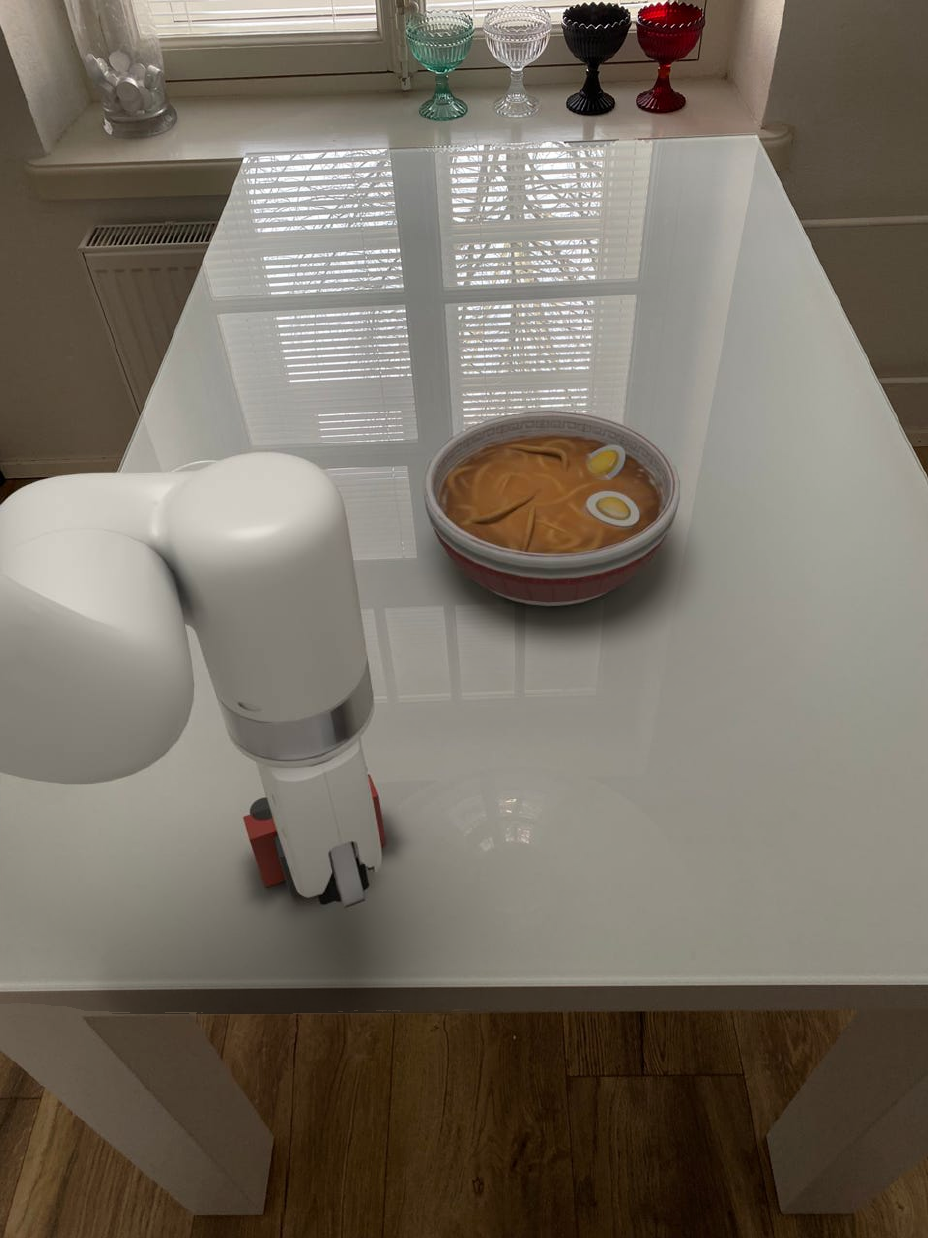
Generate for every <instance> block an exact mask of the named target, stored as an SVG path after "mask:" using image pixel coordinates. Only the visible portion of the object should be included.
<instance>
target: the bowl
mask: <svg viewBox="0 0 928 1238" xmlns="http://www.w3.org/2000/svg"><path fill="white" fill-rule="evenodd" d="M422 483H423V487H422V488H423V492H422V493H423V500H424V503H425V504H424V505H425V509H426V510H425V511H426V513H427V516H428V520H429V522H430V525H431V527H432V528H433V531H434V534H435V535H436V538H437V540H438V542H439V543H440V545H441V546H442V548H443V549H444V551H445V552H446V554H447V555H448V557H450V559H451V560H452V561H453V562H454V563H455V564H456V566H457V567H458V568H459V570H461V571H462V573H464V574H466V576H468V577H469V578H470V579H471V580H472V581H474V582H476V583H477V584H479V585H481V586H482V587H484V588H485V589H487V590H489V591H491V592H492V593H494V594H496V595H497V596H500V597H503V598H505V599H508V600H511V601H513V602H517V603H523V604H526V605H530V606H531V605H533V606H542V607H543V606H544V607H554V606H555V607H556V606H569V605H574V604H575V605H576V604H580V603H585V602H588V601H590V600H593V599H596V598H599V597H601V596H603V595H605V594H607V593H608V592H609V593H610V592H611V591H613V590H615V589H617V588H618V587H620V586H622V585H624V584H626V583H627V582H628V581H629V580H630V579H632V578H633V577H635V575H636V574H637V573H639V571H641V570H642V569H643V568H644V567H645V566H646V565H647V564H648V563H649V562H650V561H651V560H652V559H653V557H654V556H655V554H656V553H657V552H658V550H659V549H660V548H661V546H662V544H663V543H664V541H665V539H666V538H667V535H668V533H669V531H670V530H671V528H672V526H673V522H674V520H675V517H676V514H677V512H678V511H677V510H678V507H679V503H680V499H681V479H680V476H679V473H678V471H677V468H676V466H675V464H674V463H673V461H672V459H671V458H670V456H669V455H668V454H667V453H666V451H665V450H663V449H662V448H661V447H660V446H659V444H657V443H655V441H653V440H652V439H651V438H649V437H647V436H646V435H644V434H643V433H641V432H639V430H637V429H634V428H632V427H630V426H628V425H625V424H623V423H620V422H617V421H615V420H612V419H608V418H605V417H601V416H597V415H593V414H588V413H587V414H586V413H582V412H575V411H561V410H560V411H559V410H539V411H525V412H520V413H512V414H511V413H510V414H505V415H501V416H498V417H495V418H491V419H487V420H485V421H482V422H479V423H477V424H475V425H473V426H470V427H467V428H466V429H464V430H463V431H461V432H459V433H457V434H455V435H454V436H453V437H451V438H450V439H448V441H446V442H445V443H444V444H443V445H442V446H441V447H440V448H438V450H437V451H436V452H435V454H434V455H433V456H432V458H431V459H430V460H429V462H428V464H427V466H426V470H425V473H424V475H423V481H422Z"/></svg>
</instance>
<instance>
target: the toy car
mask: <svg viewBox="0 0 928 1238" xmlns="http://www.w3.org/2000/svg"><path fill="white" fill-rule="evenodd" d="M368 778H369V782H370V787H371V793H372V798H373V803H374V808H375V814H376V819H377V825H378V831H379V837H380V844H381V847H382V846H385V845H386V844H387V842H386V835H385V829H384V823H383V822H384V821H383V816H382V815H383V814H382V809H381V803H380V802H381V801H380V797H379V794H378V790H377V788H376V786H375V784H374V781H373V779H372V777H371V774H370V773H368ZM242 819H243V822H244V826H245V829H246V833H247V836H248V839H249V844H250V847H251V849H252V852H253V855H254V859H255V862H256V865H257V867H258V870H259V874H260V877H261V879H262V883H263V886H264V888H268V887H271V886H274V885H277V884H280V883H282V882H286V886H287V889H288V892H289V896H290V897H291V898H293V897H296V896H300V894H299V893H298V892H297V889H296V887H295V884H294V882H293V879H292V876H291V873H290V870H289V867H288V864H287V860H286V857H285V854H284V851H283V848H282V845H281V842H280V839H279V836H278V833H277V829H276V826H275V823H274V820H273V817H272V814H271V810H270V807H269V804H268V800H267V797H266V796H265V797H261V798H259V799H257V800H255V801H254V802H253V803H252V804H251V806H250V808H249V814H247V815H244V816H242Z"/></svg>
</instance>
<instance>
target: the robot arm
mask: <svg viewBox="0 0 928 1238" xmlns="http://www.w3.org/2000/svg"><path fill="white" fill-rule="evenodd" d="M355 569H356V568H355V562H354V555H353V550H352V542H351V535H350V528H349V523H348V517H347V511H346V507H345V503H344V499H343V496H342V494H341V492H340V490H339V488H338V485H337V484H336V482H335V481H334V480H333V479H332V477H330V475H329V474H328V473H327V472H326V471H325V470H323V469H322V468H321V467H319V466H318V465H317V464H316V463H314V462H311V461H310V460H308V459H306V458H304V457H299V456H296V455H294V454H289V453H283V452H276V451H275V452H274V451H256V452H255V451H253V452H248V453H247V452H246V453H242V454H241V453H240V454H236V455H233V456H229V457H226V458H223V459H220V460H218V461H217V462H215V463H213V464H210V465H208V466H206V467H204V468H202V469H200V470H196V471H179V472H171V471H158V472H157V471H155V472H153V471H152V472H151V471H150V472H149V471H148V472H84V473H72V474H63V475H56V476H52V477H48V478H44V479H39V480H37V481H36V480H35V481H34V482H32V483H29V484H27V485H25V486H22V487H21V488H18V489H17V490H16V491H14V492H13V493H12V494H10V495H9V496H8V497H7V498H6V499H5V500H4V501H3V502H1V504H0V774H4V775H9V776H12V777H17V778H21V779H24V780H30V781H35V782H43V783H51V784H59V785H94V784H95V785H96V784H103V783H109V782H114V781H117V780H121V779H124V778H127V777H131V776H133V775H137V773H140V772H142V771H144V770H146V769H148V768H149V767H151V766H153V765H154V764H155V763H156V762H158V761H159V760H160V759H162V758H163V757H165V756H166V755H167V754H168V753H169V751H170V750H171V749H172V748H173V747H174V746H175V744H177V742H178V741H179V739H180V737H181V735H182V734H183V732H184V730H185V728H186V727H187V725H188V723H189V720H190V717H191V713H192V709H193V705H194V700H195V678H194V668H193V660H192V654H191V649H190V643H189V637H188V632H187V627H186V626H188V627H190V628H192V630H193V631H194V633H195V635H196V638H197V641H198V644H199V647H200V651H201V653H202V656H203V659H204V660H203V661H204V664H205V666H206V669H207V672H208V675H209V678H210V682H211V684H212V687H213V690H214V694H215V696H216V700H217V701H218V706H219V708H220V712H221V715H222V718H223V722H224V725H225V728H226V731H227V734H228V737H229V739H230V741H231V743H232V744H233V745H234V747H235V748H236V749H237V750H238V751H239V752H240V753H241V754H242V755H244V757H246V758H248V759H250V760H252V761H254V762H255V763H256V766H257V771H258V774H259V777H260V780H261V784H262V788H263V790H264V794H265V797H267V800H268V804H269V807H270V810H271V814H272V817H273V820H274V823H275V826H276V829H277V833H278V836H279V839H280V842H281V845H282V848H283V851H284V854H285V857H286V860H287V864H288V867H289V870H290V873H291V876H292V879H293V882H294V884H295V887H296V889H297V892H298V893H299V895H301V896H302V897H304V898H307V899H309V898H313V897H316V896H317V899H318V903H319V904H320V905H322V906H325V905H328V904H331V903H334V902H335V903H342V905H343V907H344V909H348V908H351V907H354V906H356V905H358V904H361V903H364V902H366V900H367V899H366V896H365V892H364V891H365V890H367V889H369V887H370V882H369V876H368V872H371V871H373V873H374V874H376V873H377V872H378V871H379V869H380V867H381V865H382V860H383V856H382V855H383V853H382V846H381V844H380V837H379V831H378V825H377V819H376V814H375V808H374V803H373V798H372V793H371V787H370V782H369V778H368V774H369V773H368V771H369V769H368V766H367V764H366V758H365V754H364V749H363V745H362V740H361V737H362V736H363V735H364V734H365V732H366V730H367V728H368V727H369V726H370V723H371V721H372V718H373V716H374V713H375V696H374V689H373V684H372V683H373V682H372V677H371V671H370V663H369V657H368V650H367V641H366V637H365V636H366V635H365V629H364V622H363V616H362V609H361V602H360V596H359V590H358V589H359V588H358V583H357V575H356V570H355Z"/></svg>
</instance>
